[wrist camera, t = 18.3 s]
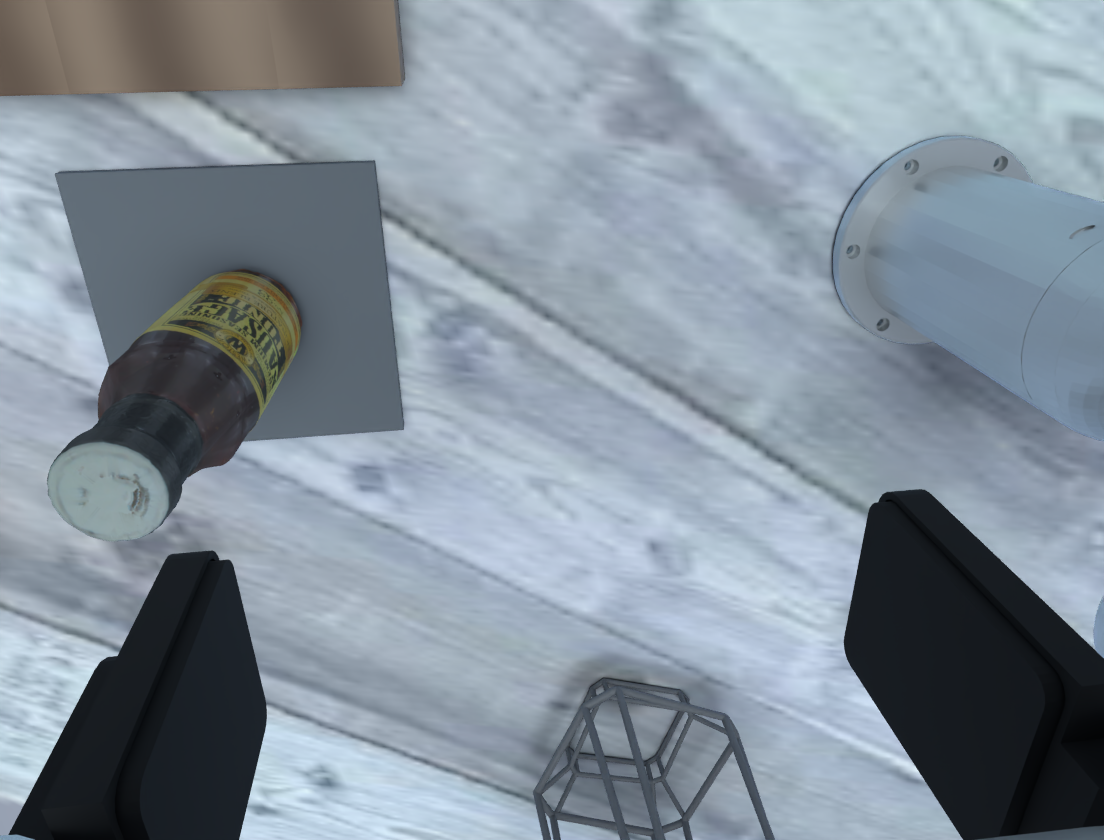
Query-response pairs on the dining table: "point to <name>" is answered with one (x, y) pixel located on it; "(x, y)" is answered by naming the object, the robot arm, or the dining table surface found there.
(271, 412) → the rubber mat
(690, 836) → the geometric lantern
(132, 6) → the holder block
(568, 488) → the dining table surface
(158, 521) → the sauce bottle
